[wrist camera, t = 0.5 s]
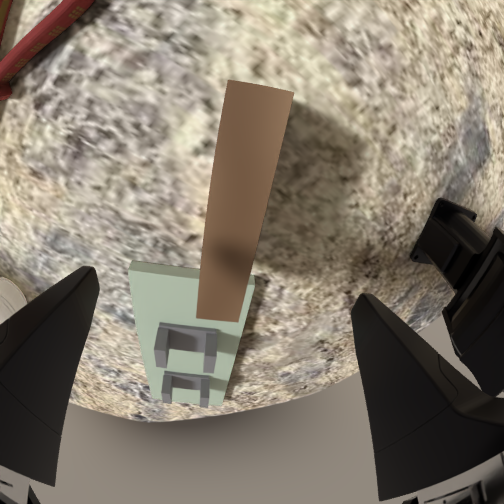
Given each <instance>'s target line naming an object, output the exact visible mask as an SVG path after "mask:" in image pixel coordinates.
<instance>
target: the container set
mask: <svg viewBox="0 0 504 504" xmlns="http://www.w3.org/2000/svg"><path fill="white" fill-rule="evenodd" d="M26 304H27V300H26V298H25V296H24V294H23V293H22V291H21V290H20V289H19V287H18V286H17V285H16V284H14V283H13V282H12V281H11V280H9V279H7V278H5V277H0V324H1V323H3V322H4V321H5V320H6V319H9V317H10V316H12V315H13V314H14V313H16V312H17V311H18V310H20V309H21V308H22V307H24V306H25V305H26Z"/></svg>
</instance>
